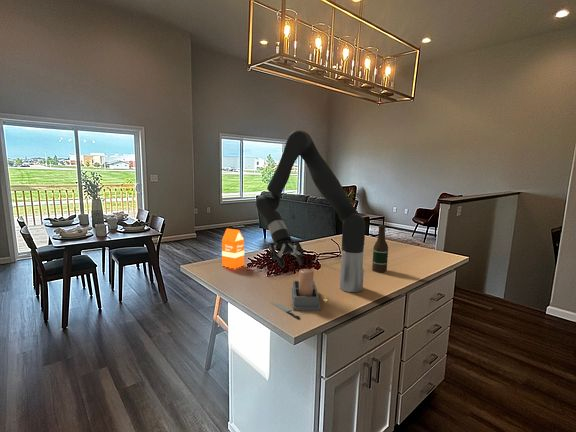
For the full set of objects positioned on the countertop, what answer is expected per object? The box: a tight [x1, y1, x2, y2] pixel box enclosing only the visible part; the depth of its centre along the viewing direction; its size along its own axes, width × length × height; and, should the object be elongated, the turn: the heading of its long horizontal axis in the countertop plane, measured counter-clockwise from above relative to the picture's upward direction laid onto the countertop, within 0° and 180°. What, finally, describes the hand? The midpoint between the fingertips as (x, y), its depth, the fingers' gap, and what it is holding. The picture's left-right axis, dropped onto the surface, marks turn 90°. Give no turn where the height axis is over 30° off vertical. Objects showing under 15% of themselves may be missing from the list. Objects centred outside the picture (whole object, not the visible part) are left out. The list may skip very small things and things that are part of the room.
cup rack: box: [291, 280, 321, 312], centre depth 123 cm, size 10×20×4 cm, turn 1°
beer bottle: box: [371, 224, 389, 274], centre depth 160 cm, size 8×8×24 cm
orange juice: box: [221, 228, 245, 270], centre depth 162 cm, size 8×9×20 cm
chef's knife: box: [269, 301, 301, 320], centre depth 114 cm, size 19×1×3 cm
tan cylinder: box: [298, 268, 315, 297], centre depth 118 cm, size 6×6×12 cm
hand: (292, 265), depth 125 cm, fingers open, 8 cm apart
